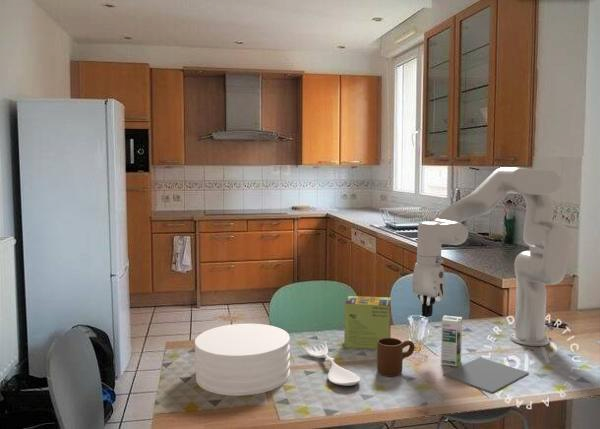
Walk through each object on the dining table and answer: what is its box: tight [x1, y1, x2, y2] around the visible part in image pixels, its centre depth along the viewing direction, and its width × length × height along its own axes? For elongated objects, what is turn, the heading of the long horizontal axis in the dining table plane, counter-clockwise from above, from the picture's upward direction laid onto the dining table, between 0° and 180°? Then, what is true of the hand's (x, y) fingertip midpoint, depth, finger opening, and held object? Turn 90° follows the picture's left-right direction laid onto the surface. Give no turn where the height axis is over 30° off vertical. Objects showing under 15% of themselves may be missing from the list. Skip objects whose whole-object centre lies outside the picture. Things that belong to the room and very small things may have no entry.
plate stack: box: [194, 323, 291, 397], centre depth 157 cm, size 28×28×12 cm
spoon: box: [301, 341, 362, 387], centre depth 161 cm, size 9×32×3 cm, turn 18°
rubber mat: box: [442, 357, 529, 394], centre depth 155 cm, size 20×16×1 cm
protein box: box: [343, 295, 392, 350], centre depth 182 cm, size 10×15×16 cm
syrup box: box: [440, 314, 463, 368], centre depth 164 cm, size 6×6×14 cm
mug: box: [376, 337, 416, 377], centre depth 158 cm, size 12×8×9 cm, turn 106°
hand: (427, 315), depth 170 cm, fingers closed
